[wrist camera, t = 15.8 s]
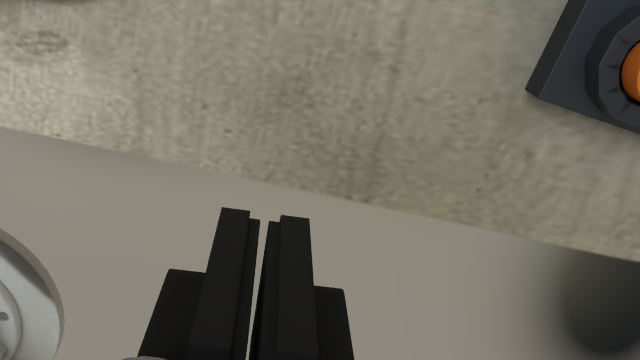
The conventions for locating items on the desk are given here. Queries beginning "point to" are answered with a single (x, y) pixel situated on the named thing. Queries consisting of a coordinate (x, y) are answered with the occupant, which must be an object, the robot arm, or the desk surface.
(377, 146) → the desk surface
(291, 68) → the desk surface
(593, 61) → the button box
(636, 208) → the desk surface
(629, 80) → the button
